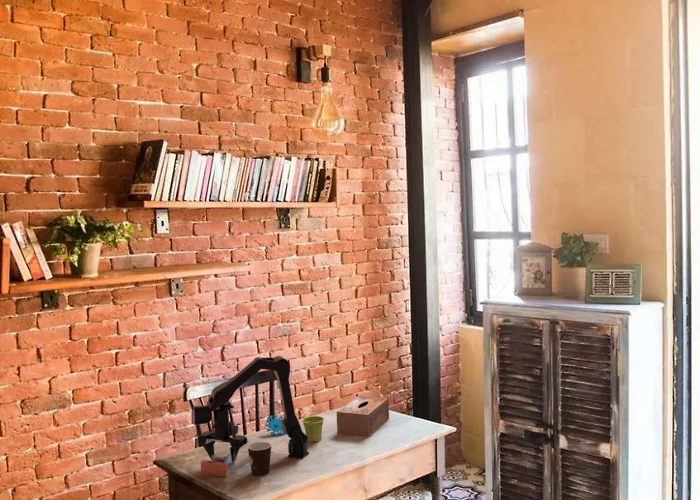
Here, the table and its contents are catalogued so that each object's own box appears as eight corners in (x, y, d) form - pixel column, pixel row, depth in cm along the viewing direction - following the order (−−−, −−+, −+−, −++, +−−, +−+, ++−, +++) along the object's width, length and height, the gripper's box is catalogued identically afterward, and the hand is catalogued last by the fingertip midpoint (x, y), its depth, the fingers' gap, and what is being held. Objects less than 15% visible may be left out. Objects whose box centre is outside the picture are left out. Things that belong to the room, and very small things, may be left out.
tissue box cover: (359, 416, 305) (359, 395, 304) (389, 419, 299) (388, 397, 298) (337, 434, 281) (336, 411, 280) (368, 438, 275) (368, 414, 275)
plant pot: (298, 442, 272) (297, 421, 272) (308, 435, 281) (307, 415, 281) (319, 444, 269) (318, 423, 268) (328, 437, 278) (327, 416, 277)
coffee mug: (249, 469, 246) (248, 442, 245) (272, 467, 246) (271, 441, 246) (247, 481, 234) (246, 454, 233) (271, 479, 235) (270, 452, 234)
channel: (251, 459, 255) (251, 448, 255) (226, 476, 239) (225, 464, 238) (227, 456, 259) (227, 445, 259) (201, 473, 243) (200, 461, 243)
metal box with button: (236, 465, 250) (235, 450, 249) (224, 473, 243) (224, 457, 242) (223, 464, 252) (223, 448, 251) (212, 471, 245) (211, 455, 244)
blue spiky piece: (266, 434, 279) (265, 413, 285) (263, 441, 283) (262, 420, 290) (291, 434, 282) (290, 413, 288) (288, 441, 286) (287, 420, 293)
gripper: (254, 416, 250) (255, 456, 251) (212, 412, 257) (214, 451, 258) (238, 425, 239) (240, 467, 240) (195, 421, 247) (197, 462, 247)
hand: (223, 461), depth 247 cm, fingers open, 9 cm apart
